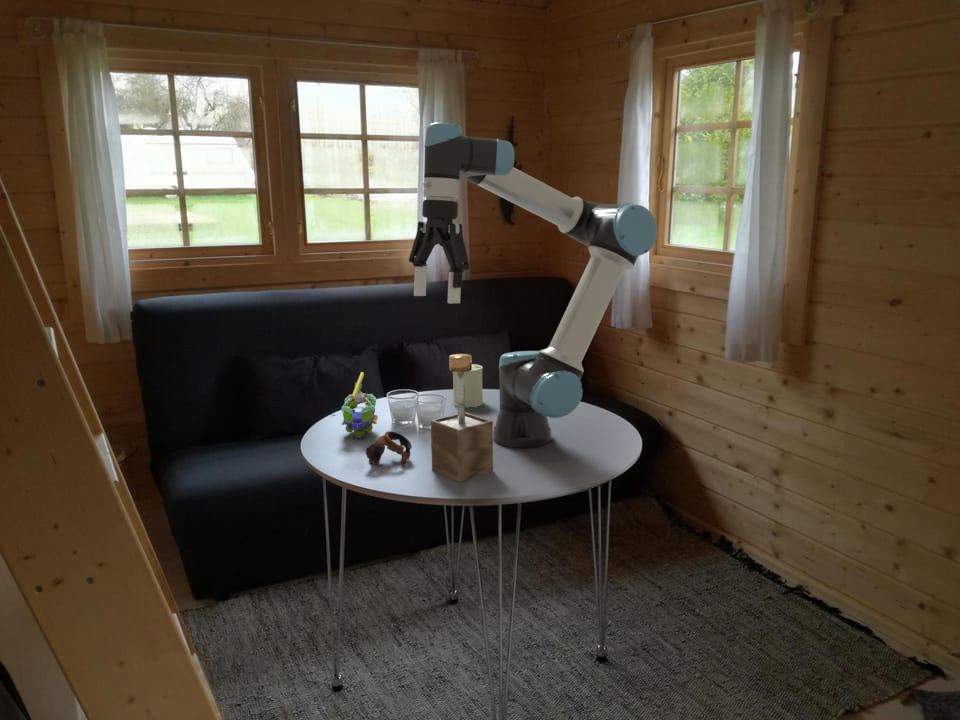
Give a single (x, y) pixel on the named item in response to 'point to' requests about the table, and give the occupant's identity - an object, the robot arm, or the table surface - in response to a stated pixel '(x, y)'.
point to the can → (470, 387)
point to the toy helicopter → (359, 419)
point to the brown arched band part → (389, 447)
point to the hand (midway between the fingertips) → (436, 299)
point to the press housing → (462, 448)
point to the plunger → (460, 390)
